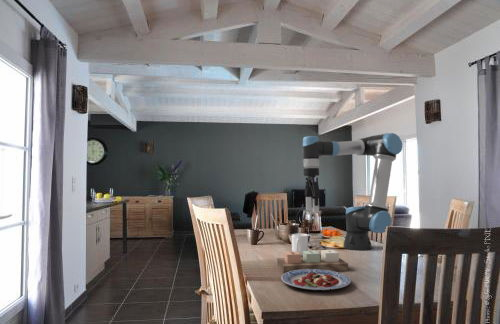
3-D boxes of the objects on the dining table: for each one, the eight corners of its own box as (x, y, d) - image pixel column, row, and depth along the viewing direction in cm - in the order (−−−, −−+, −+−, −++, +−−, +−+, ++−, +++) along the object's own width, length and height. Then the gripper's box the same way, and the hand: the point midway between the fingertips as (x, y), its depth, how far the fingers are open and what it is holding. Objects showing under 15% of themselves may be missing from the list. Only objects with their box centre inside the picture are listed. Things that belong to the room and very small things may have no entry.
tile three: (297, 261, 154) (297, 251, 155) (301, 264, 148) (300, 254, 149) (284, 261, 154) (284, 251, 154) (287, 265, 148) (287, 254, 148)
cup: (309, 253, 181) (308, 233, 182) (305, 258, 170) (305, 237, 170) (293, 252, 184) (293, 233, 184) (289, 257, 172) (288, 236, 173)
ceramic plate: (303, 271, 148) (303, 263, 148) (361, 281, 131) (361, 273, 131) (267, 285, 128) (267, 277, 128) (331, 300, 111) (331, 291, 112)
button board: (336, 262, 160) (336, 256, 161) (348, 270, 147) (347, 263, 147) (277, 264, 157) (277, 258, 157) (283, 273, 143) (283, 265, 144)
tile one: (334, 259, 156) (333, 249, 156) (338, 262, 150) (338, 252, 151) (321, 260, 156) (321, 250, 156) (325, 263, 150) (325, 253, 150)
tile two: (315, 260, 155) (315, 250, 156) (320, 263, 149) (319, 253, 150) (303, 261, 155) (302, 250, 155) (306, 264, 149) (306, 253, 149)
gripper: (298, 168, 180) (299, 209, 179) (310, 167, 155) (311, 214, 154) (312, 168, 181) (313, 208, 180) (326, 166, 156) (327, 213, 155)
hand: (312, 211), depth 167 cm, fingers open, 13 cm apart
